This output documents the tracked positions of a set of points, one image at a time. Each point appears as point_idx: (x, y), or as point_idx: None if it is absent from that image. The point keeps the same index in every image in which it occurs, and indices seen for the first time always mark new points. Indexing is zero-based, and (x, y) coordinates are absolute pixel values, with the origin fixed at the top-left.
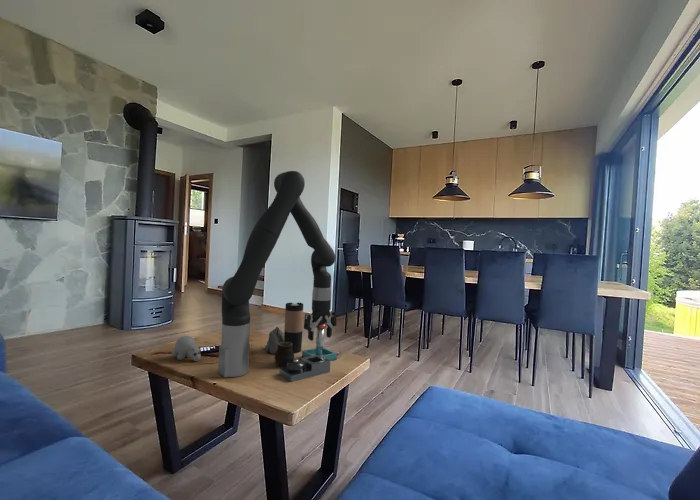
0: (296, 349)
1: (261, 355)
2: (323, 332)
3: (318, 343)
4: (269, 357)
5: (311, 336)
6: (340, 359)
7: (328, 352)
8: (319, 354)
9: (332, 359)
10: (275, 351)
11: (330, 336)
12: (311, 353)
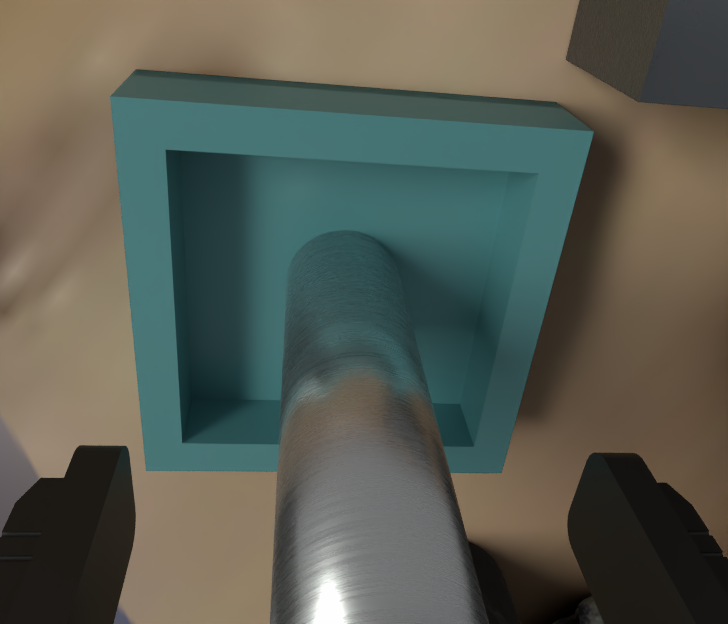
0: None
1: None
2: (353, 556)
3: (427, 391)
4: None
5: (671, 531)
6: (72, 27)
7: (178, 275)
8: (383, 266)
9: (229, 81)
10: None
11: (88, 453)
12: None
